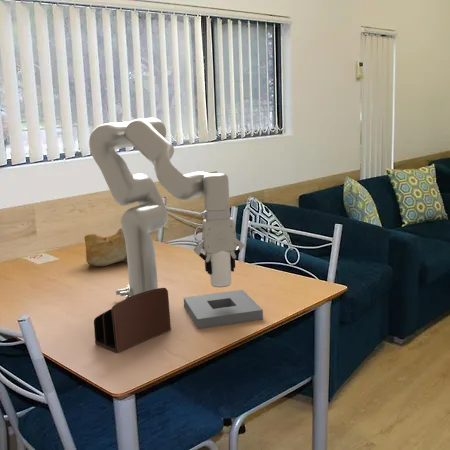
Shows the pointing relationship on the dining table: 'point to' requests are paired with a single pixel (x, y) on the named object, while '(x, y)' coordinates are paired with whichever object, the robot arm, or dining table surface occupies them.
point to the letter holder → (133, 320)
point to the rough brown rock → (105, 249)
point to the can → (220, 269)
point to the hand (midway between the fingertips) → (220, 271)
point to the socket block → (222, 308)
